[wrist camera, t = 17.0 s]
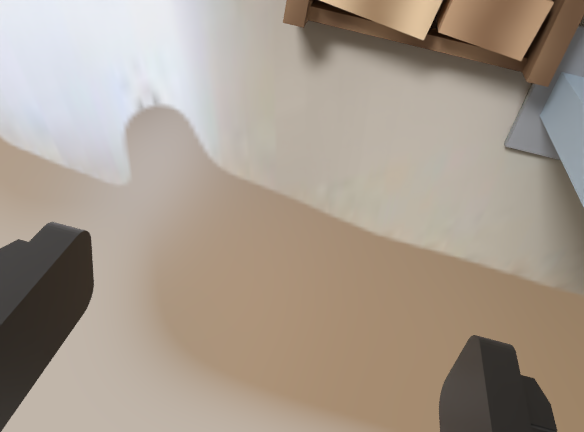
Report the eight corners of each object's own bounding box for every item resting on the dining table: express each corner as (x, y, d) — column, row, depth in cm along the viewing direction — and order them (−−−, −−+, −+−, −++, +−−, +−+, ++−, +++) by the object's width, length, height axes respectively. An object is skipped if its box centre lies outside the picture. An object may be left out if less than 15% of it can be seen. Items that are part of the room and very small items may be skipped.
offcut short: (436, 17, 39) (438, 32, 36) (460, -40, 37) (465, -29, 34) (512, 43, 39) (521, 61, 36) (541, -11, 37) (553, 2, 34)
